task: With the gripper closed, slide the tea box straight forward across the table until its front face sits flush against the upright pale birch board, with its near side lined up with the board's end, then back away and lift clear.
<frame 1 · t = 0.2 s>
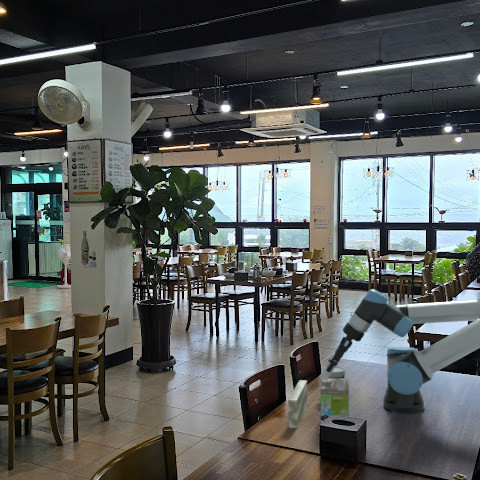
hand: (325, 373, 207), 16 cm above the table, tool tilted 35°, fingers open, 13 cm apart
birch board: (298, 415, 207), on the table
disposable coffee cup: (334, 398, 226), on the table
tea box: (335, 424, 199), on the table
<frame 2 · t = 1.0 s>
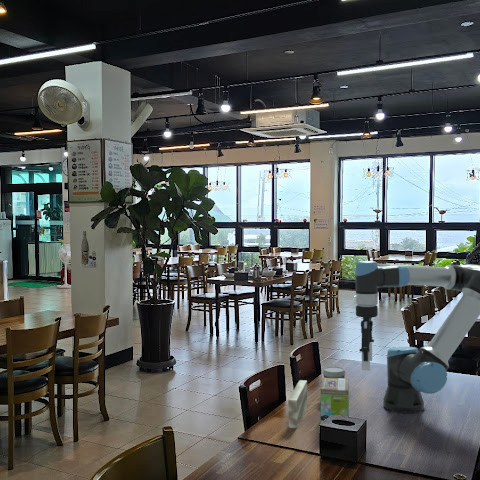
hand: (367, 365, 195), 22 cm above the table, tool pointing down, fingers open, 12 cm apart
nothing on the table moved.
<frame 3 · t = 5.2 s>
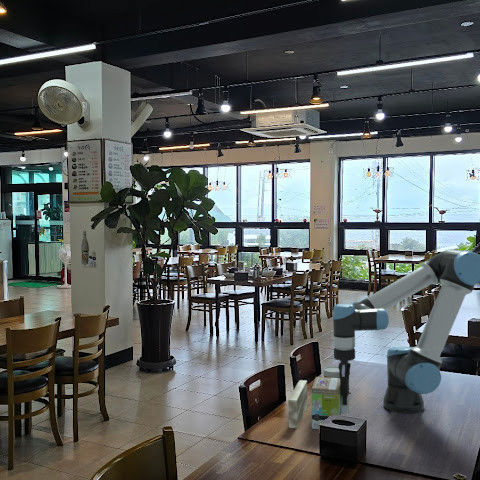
hand: (345, 412, 197), 4 cm above the table, tool pointing down, fingers closed
tea box: (327, 423, 199), on the table, touching gripper
everything else where it was.
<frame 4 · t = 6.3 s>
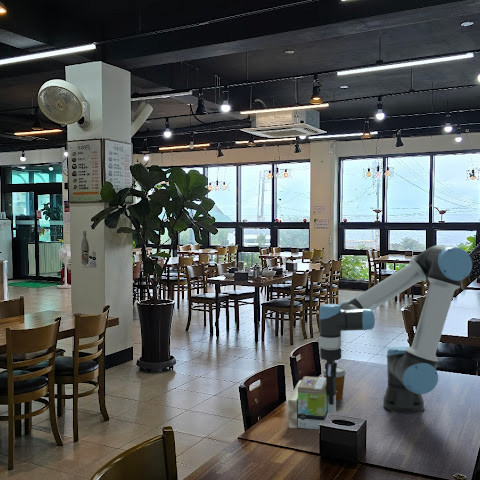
hand: (332, 412, 199), 4 cm above the table, tool pointing down, fingers closed
tea box: (314, 422, 201), on the table, touching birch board, gripper
everything else where it was.
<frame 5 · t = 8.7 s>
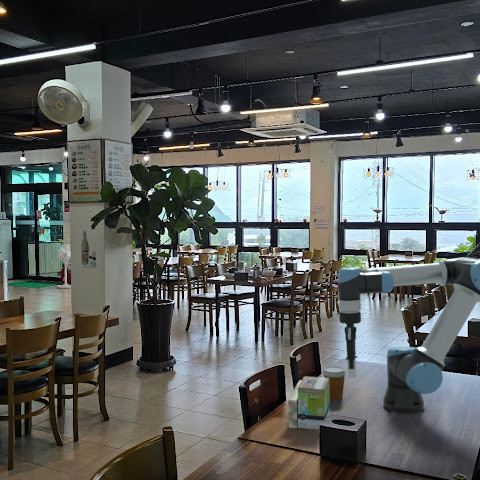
hand: (352, 376, 196), 17 cm above the table, tool pointing down, fingers closed
tea box: (314, 422, 201), on the table
everything else where it was.
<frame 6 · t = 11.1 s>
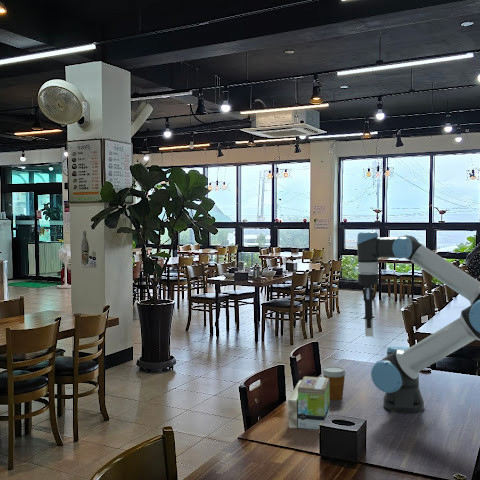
hand: (369, 336, 206), 29 cm above the table, tool pointing down, fingers closed
nothing on the table moved.
at the end: tea box 0.3 cm from the target spot on the table beside the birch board, on the table; tea box tilted 0° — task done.
